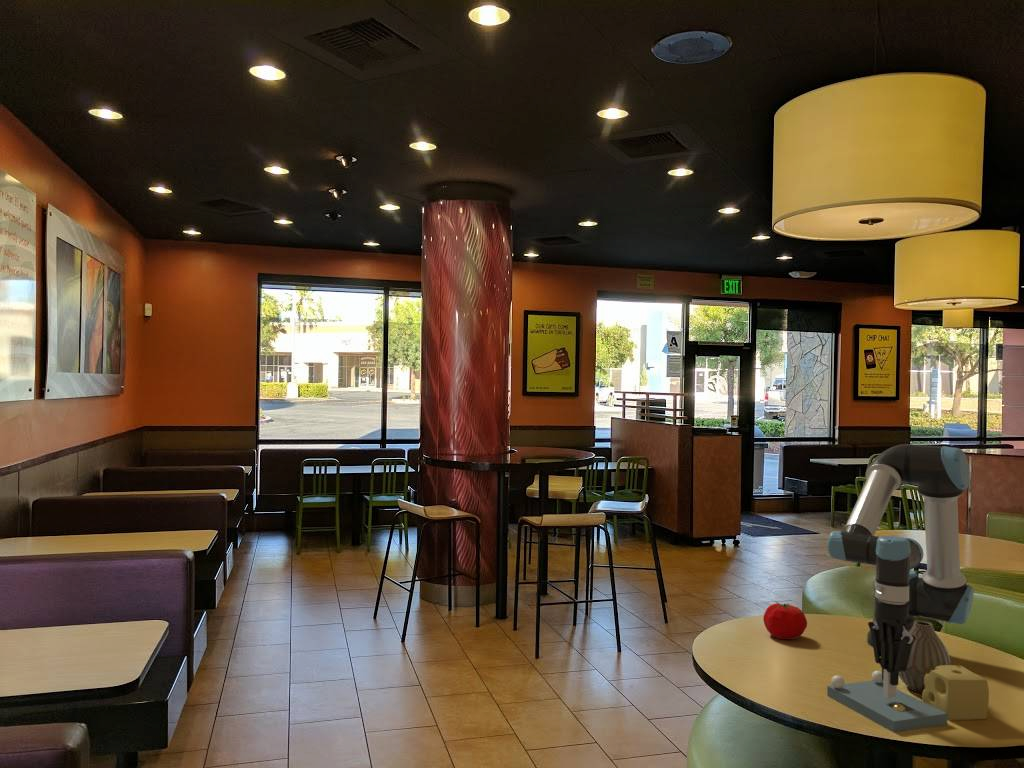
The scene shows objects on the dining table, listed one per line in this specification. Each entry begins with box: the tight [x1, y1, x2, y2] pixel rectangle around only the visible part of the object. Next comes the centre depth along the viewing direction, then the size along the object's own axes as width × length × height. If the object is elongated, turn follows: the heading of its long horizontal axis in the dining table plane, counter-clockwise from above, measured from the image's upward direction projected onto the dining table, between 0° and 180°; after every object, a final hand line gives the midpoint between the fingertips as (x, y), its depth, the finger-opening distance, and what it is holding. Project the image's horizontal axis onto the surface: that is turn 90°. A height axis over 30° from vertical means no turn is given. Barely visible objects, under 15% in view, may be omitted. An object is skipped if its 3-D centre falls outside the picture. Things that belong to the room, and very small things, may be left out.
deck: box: [826, 679, 948, 733], centre depth 195 cm, size 16×22×2 cm
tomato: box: [762, 600, 808, 640], centre depth 250 cm, size 13×12×11 cm
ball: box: [892, 704, 906, 712], centre depth 190 cm, size 3×3×3 cm
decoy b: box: [830, 674, 846, 689], centre depth 202 cm, size 3×3×3 cm
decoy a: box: [871, 670, 883, 684], centre depth 206 cm, size 3×3×3 cm
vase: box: [899, 620, 952, 694], centre depth 209 cm, size 13×13×18 cm
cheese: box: [921, 664, 990, 721], centre depth 194 cm, size 10×11×10 cm
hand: (889, 696), depth 194 cm, fingers closed
